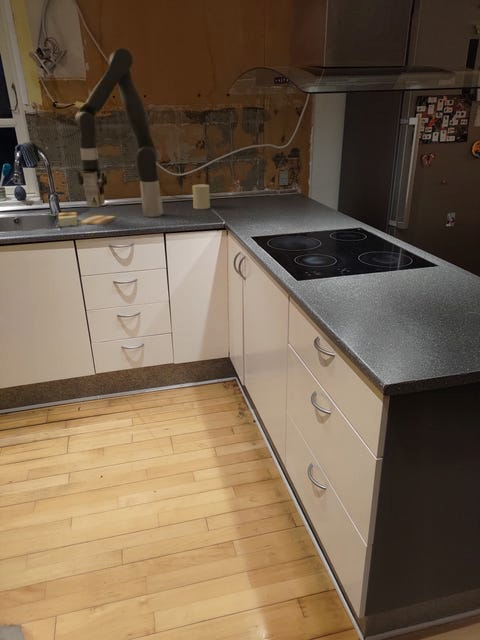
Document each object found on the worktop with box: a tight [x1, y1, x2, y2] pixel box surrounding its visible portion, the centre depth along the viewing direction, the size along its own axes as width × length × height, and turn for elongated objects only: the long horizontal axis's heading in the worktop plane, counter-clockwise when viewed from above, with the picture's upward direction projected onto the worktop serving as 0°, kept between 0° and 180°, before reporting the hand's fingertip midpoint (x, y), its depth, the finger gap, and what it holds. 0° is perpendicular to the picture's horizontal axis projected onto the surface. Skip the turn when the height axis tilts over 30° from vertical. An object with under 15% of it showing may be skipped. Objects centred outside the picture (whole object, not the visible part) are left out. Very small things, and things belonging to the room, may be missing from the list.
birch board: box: [79, 215, 117, 226], centre depth 239 cm, size 12×14×1 cm
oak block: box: [57, 211, 79, 221], centre depth 239 cm, size 8×4×4 cm, turn 93°
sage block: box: [58, 215, 78, 227], centre depth 232 cm, size 8×4×4 cm, turn 108°
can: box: [191, 183, 211, 210], centre depth 262 cm, size 9×9×12 cm
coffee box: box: [82, 168, 106, 208], centre depth 232 cm, size 9×6×16 cm
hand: (94, 194), depth 233 cm, fingers closed on coffee box, 7 cm apart
